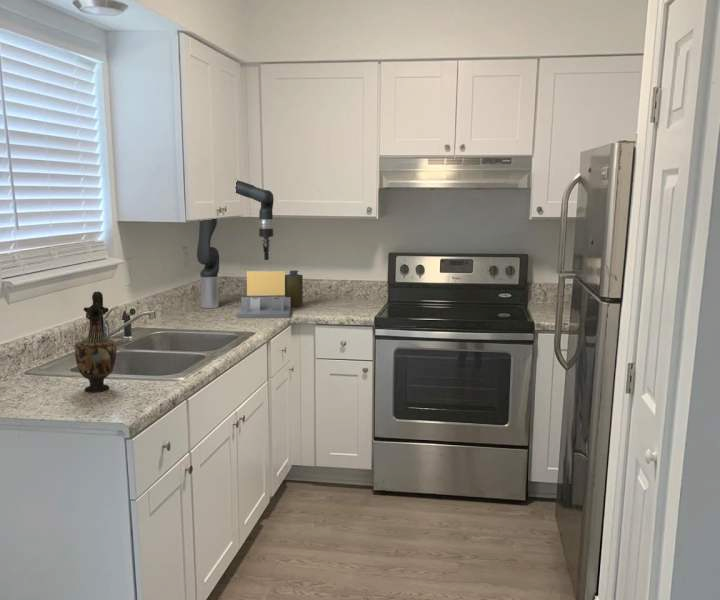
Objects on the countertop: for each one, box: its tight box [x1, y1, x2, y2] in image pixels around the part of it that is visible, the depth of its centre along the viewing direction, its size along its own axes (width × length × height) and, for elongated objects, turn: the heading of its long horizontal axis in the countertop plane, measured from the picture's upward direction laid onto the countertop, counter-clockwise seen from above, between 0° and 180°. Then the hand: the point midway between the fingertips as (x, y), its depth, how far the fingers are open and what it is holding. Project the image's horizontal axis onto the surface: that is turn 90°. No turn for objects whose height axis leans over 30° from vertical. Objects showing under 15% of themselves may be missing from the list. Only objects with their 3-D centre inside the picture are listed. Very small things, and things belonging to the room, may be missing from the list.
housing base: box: [236, 296, 292, 319], centre depth 316 cm, size 20×26×9 cm
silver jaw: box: [250, 298, 261, 311], centre depth 318 cm, size 5×5×6 cm
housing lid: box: [246, 269, 286, 297], centre depth 324 cm, size 14×20×1 cm
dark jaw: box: [271, 298, 281, 311], centre depth 319 cm, size 5×5×6 cm
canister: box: [284, 270, 304, 308], centre depth 343 cm, size 11×10×20 cm
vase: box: [74, 291, 118, 393], centre depth 186 cm, size 12×12×30 cm
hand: (266, 259), depth 329 cm, fingers closed
